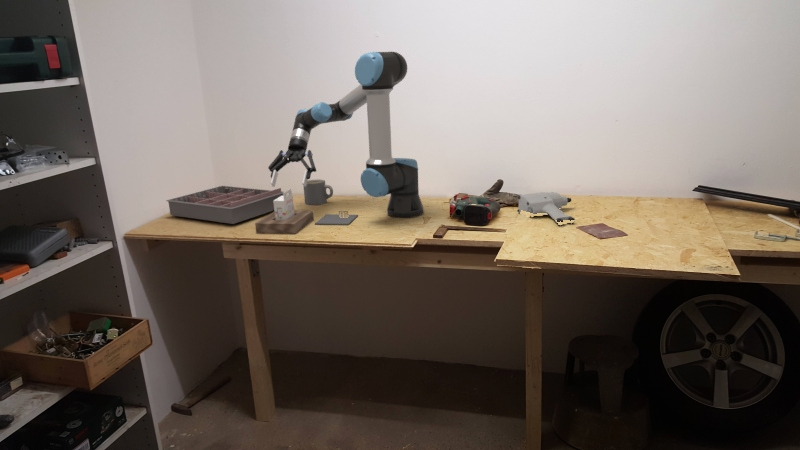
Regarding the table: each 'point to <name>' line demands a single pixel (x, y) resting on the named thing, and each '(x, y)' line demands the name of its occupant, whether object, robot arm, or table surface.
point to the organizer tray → (225, 204)
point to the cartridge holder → (284, 223)
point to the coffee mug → (316, 192)
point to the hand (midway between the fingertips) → (288, 185)
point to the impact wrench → (545, 204)
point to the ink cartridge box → (284, 206)
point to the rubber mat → (335, 220)
